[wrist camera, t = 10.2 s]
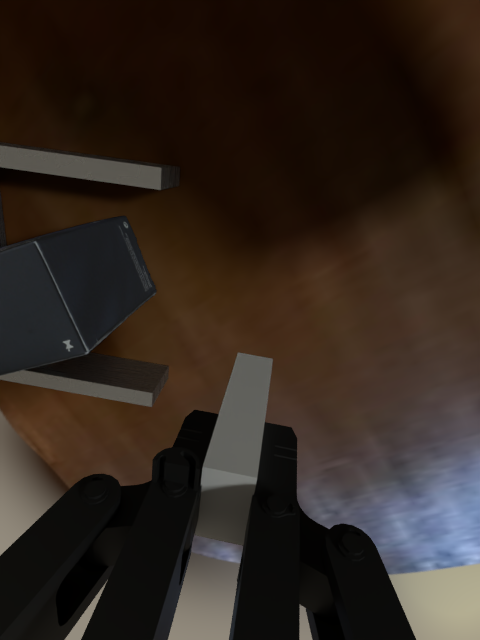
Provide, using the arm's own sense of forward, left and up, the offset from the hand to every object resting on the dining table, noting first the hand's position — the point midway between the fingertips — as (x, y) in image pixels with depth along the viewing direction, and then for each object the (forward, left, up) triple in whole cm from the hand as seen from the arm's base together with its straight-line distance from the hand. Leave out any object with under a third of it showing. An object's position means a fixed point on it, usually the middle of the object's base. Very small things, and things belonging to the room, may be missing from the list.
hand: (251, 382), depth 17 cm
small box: (+1, -14, -13) cm, 19 cm away
